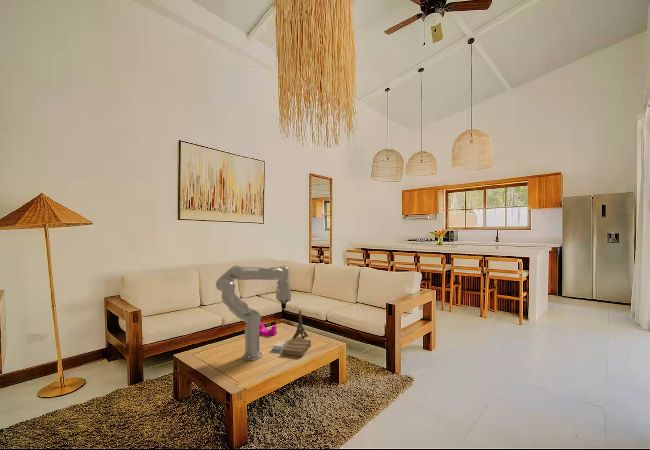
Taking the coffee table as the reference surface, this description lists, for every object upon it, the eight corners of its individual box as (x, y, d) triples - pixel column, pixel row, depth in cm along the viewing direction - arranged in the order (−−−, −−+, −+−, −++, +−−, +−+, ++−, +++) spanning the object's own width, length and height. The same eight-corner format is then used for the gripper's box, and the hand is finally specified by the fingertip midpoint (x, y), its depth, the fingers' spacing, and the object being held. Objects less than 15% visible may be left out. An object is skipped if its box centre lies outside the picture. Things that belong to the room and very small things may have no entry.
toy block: (256, 334, 246) (256, 325, 246) (260, 332, 252) (260, 323, 252) (272, 337, 240) (272, 327, 240) (276, 334, 246) (276, 325, 246)
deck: (302, 357, 204) (301, 351, 204) (282, 355, 207) (282, 349, 207) (311, 345, 223) (310, 340, 223) (293, 343, 227) (293, 338, 227)
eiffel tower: (296, 334, 246) (296, 303, 245) (308, 335, 243) (308, 304, 242) (291, 339, 235) (291, 307, 235) (304, 340, 232) (304, 308, 232)
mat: (283, 353, 209) (283, 353, 209) (269, 352, 212) (269, 351, 212) (291, 344, 225) (291, 344, 225) (279, 343, 227) (279, 342, 227)
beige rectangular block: (273, 345, 215) (273, 349, 215) (281, 346, 214) (281, 350, 214) (278, 340, 224) (278, 344, 224) (286, 341, 222) (286, 345, 222)
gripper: (271, 284, 220) (272, 309, 220) (291, 285, 216) (291, 310, 216) (276, 282, 227) (276, 306, 227) (295, 283, 223) (295, 307, 223)
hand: (283, 308), depth 222 cm, fingers closed
